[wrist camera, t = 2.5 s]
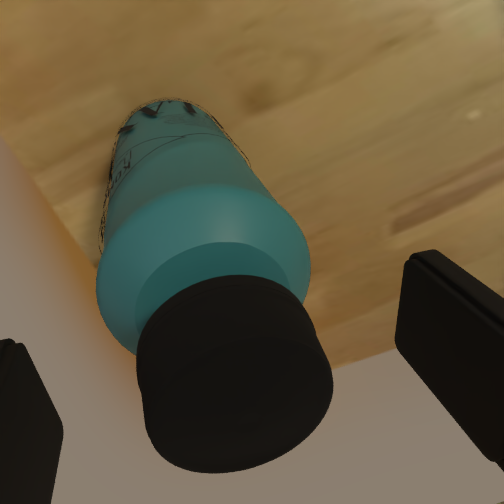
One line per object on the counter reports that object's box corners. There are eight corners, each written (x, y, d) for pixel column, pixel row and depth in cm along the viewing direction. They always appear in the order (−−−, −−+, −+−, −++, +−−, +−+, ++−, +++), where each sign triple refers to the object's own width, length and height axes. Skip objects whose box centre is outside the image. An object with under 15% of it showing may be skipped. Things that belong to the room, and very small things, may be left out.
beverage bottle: (225, 96, 24) (449, 261, 7) (218, 200, 27) (362, 490, 10) (109, 87, 22) (33, 282, 5) (116, 200, 25) (83, 552, 8)
